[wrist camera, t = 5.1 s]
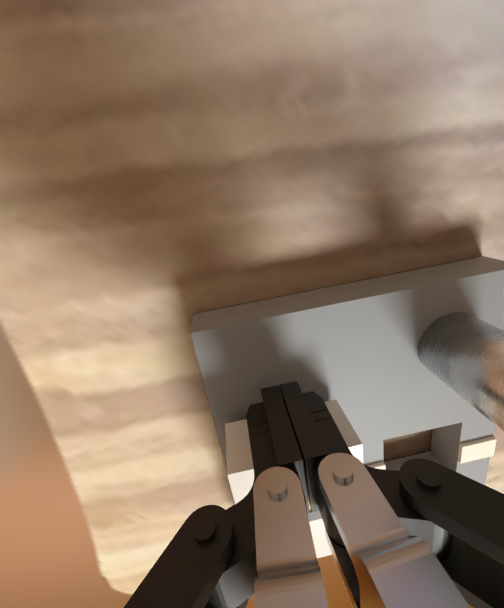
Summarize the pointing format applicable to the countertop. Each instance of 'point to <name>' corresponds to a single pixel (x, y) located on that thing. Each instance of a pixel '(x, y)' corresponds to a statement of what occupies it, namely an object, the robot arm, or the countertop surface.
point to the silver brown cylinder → (468, 361)
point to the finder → (243, 470)
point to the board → (358, 358)
